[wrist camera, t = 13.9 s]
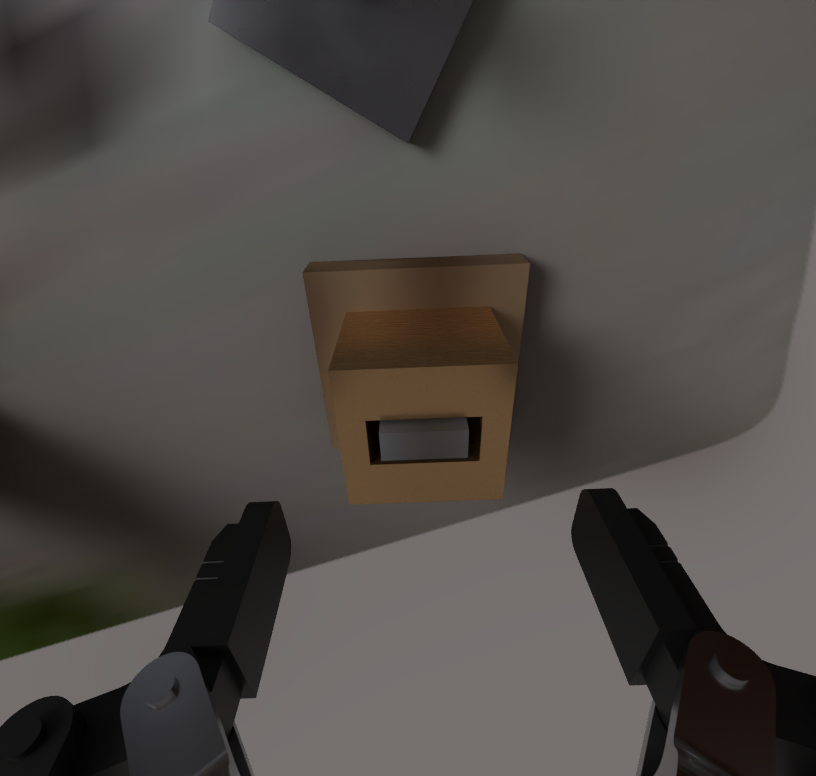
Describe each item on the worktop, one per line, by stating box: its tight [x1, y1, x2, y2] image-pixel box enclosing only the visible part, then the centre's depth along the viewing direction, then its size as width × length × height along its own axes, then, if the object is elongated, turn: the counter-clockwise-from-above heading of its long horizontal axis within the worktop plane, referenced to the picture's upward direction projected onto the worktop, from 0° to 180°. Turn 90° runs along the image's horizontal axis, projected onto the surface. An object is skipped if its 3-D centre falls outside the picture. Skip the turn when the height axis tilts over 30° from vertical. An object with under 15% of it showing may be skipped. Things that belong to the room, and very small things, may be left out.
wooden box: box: [303, 254, 530, 461], centre depth 17 cm, size 9×9×7 cm
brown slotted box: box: [328, 306, 518, 504], centre depth 17 cm, size 6×6×5 cm
